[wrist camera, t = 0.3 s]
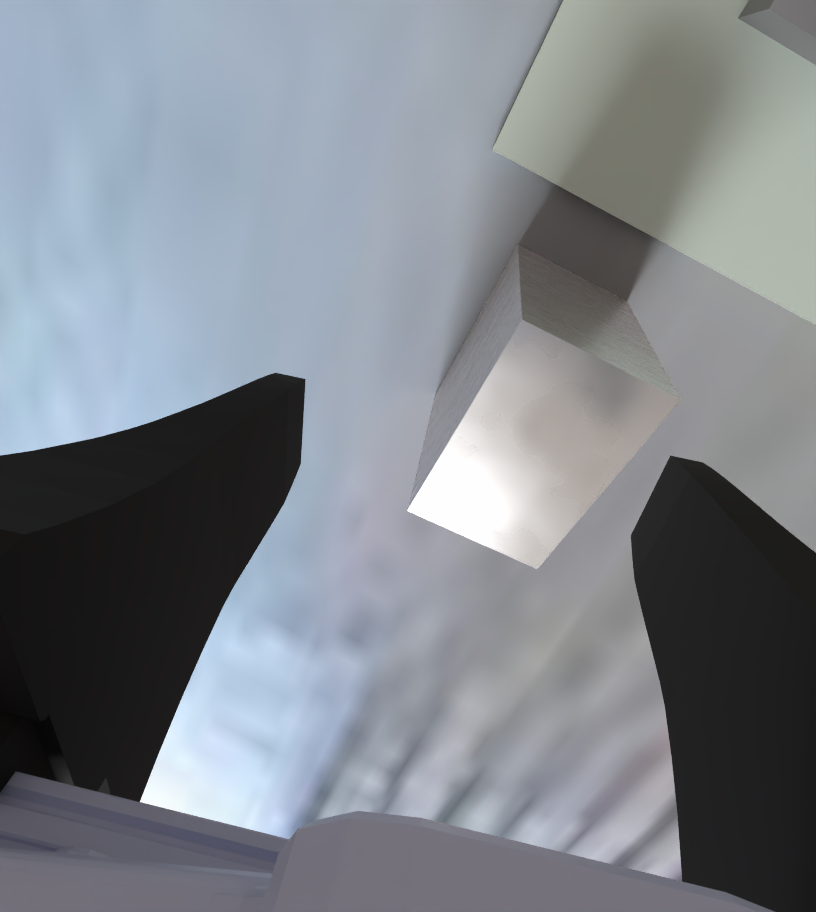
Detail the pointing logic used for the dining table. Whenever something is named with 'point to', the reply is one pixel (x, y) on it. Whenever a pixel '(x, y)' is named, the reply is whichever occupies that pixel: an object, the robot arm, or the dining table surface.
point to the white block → (538, 411)
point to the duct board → (685, 129)
